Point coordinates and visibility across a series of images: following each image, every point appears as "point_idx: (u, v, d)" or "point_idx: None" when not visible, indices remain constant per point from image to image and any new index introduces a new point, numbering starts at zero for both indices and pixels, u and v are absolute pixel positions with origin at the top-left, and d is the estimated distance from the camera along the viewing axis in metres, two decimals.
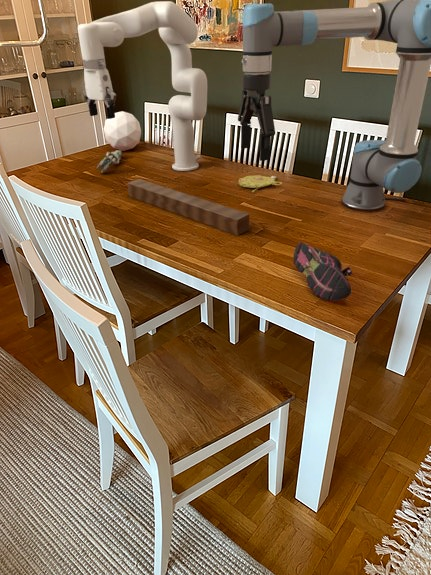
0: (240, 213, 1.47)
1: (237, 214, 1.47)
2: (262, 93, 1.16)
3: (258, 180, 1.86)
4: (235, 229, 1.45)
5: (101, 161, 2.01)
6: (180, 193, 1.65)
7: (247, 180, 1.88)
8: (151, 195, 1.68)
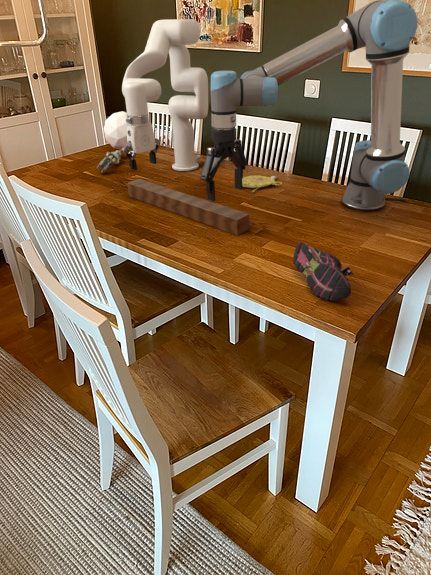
0: (240, 213, 1.47)
1: (237, 214, 1.47)
2: None
3: (258, 180, 1.86)
4: (235, 229, 1.45)
5: (101, 161, 2.01)
6: (180, 193, 1.65)
7: (247, 180, 1.88)
8: (151, 195, 1.68)
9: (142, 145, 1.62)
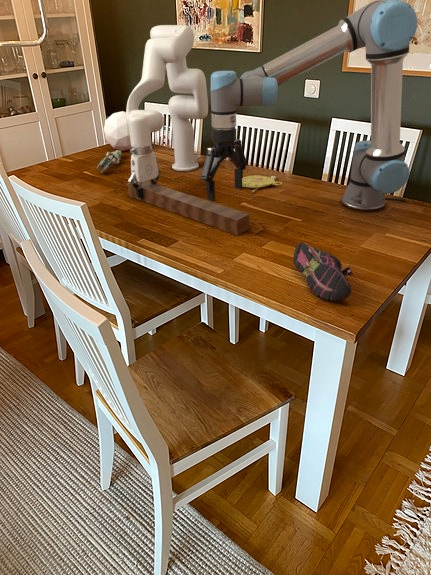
0: (240, 213, 1.47)
1: (237, 214, 1.47)
2: None
3: (258, 180, 1.86)
4: (235, 229, 1.45)
5: (101, 161, 2.01)
6: (180, 193, 1.64)
7: (247, 180, 1.88)
8: (151, 194, 1.68)
9: (145, 174, 1.68)
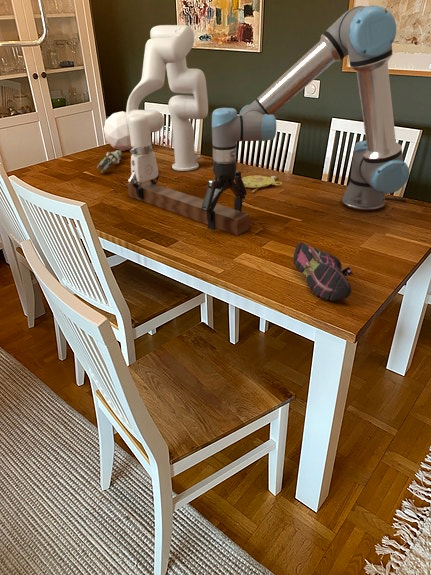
0: (240, 213, 1.47)
1: (237, 214, 1.47)
2: None
3: (258, 180, 1.86)
4: (235, 229, 1.45)
5: (101, 161, 2.01)
6: (180, 193, 1.64)
7: (247, 180, 1.88)
8: (151, 194, 1.68)
9: (145, 174, 1.68)
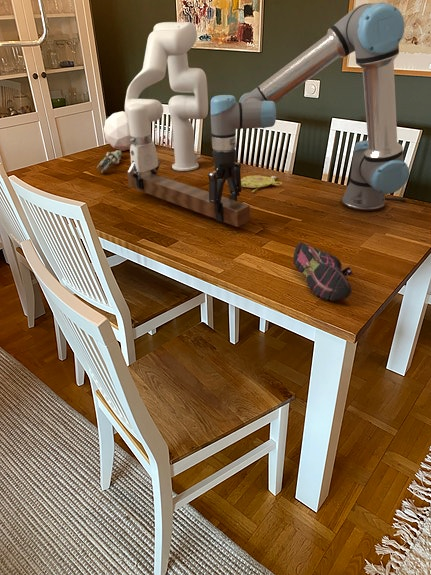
0: (240, 204, 1.46)
1: (237, 205, 1.46)
2: None
3: (258, 180, 1.86)
4: (235, 220, 1.44)
5: (101, 161, 2.01)
6: (180, 184, 1.63)
7: (247, 180, 1.88)
8: (151, 185, 1.67)
9: (145, 164, 1.66)
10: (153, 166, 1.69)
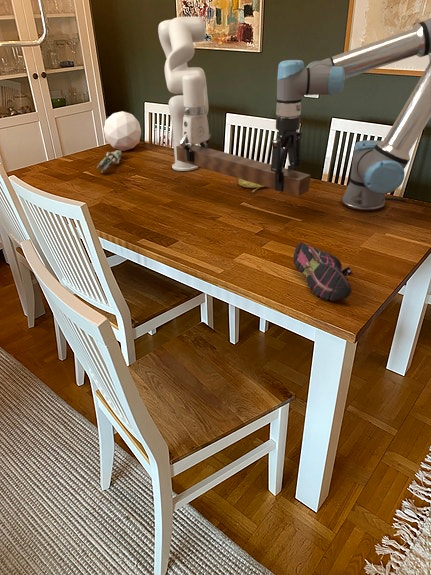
0: (301, 174, 1.45)
1: (298, 174, 1.44)
2: None
3: None
4: (296, 190, 1.43)
5: (101, 161, 2.01)
6: (234, 156, 1.62)
7: None
8: (203, 157, 1.66)
9: (197, 136, 1.65)
10: (204, 139, 1.68)
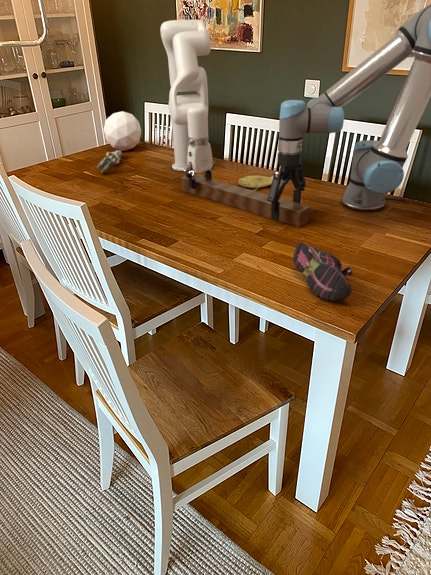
0: (301, 206, 1.51)
1: (298, 206, 1.51)
2: None
3: (258, 180, 1.86)
4: (297, 221, 1.49)
5: (101, 161, 2.01)
6: (236, 187, 1.68)
7: (247, 180, 1.88)
8: (206, 188, 1.72)
9: (201, 165, 1.71)
10: (208, 167, 1.74)
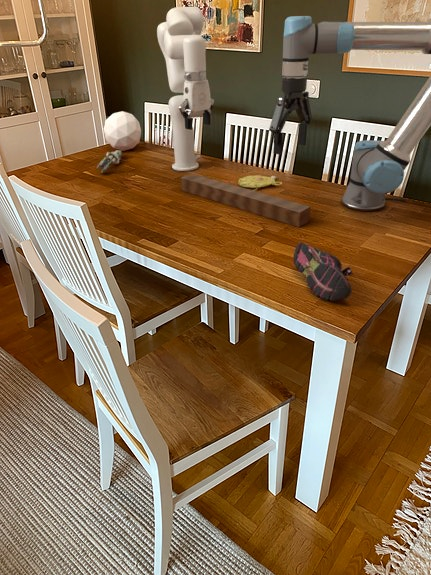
0: (301, 206, 1.51)
1: (298, 206, 1.51)
2: None
3: (258, 180, 1.86)
4: (297, 221, 1.49)
5: (101, 161, 2.01)
6: (236, 187, 1.68)
7: (247, 180, 1.88)
8: (206, 188, 1.72)
9: (199, 103, 1.59)
10: (206, 107, 1.62)
